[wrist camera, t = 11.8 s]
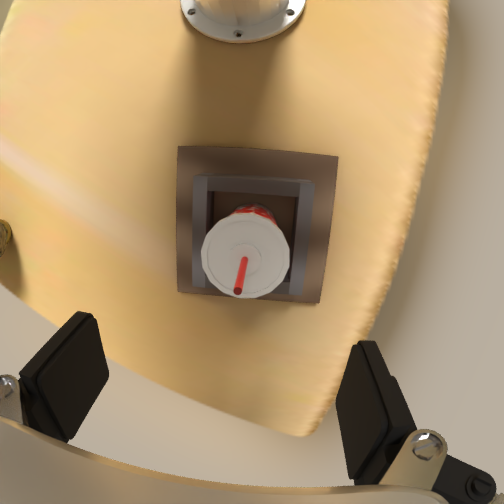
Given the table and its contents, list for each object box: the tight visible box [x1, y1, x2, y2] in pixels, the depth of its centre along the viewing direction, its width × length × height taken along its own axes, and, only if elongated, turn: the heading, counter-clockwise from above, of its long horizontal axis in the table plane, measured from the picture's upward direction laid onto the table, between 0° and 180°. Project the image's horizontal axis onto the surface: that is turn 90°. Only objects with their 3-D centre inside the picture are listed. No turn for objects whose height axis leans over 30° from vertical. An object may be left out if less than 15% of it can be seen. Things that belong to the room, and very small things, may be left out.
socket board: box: [176, 146, 338, 303], centre depth 29 cm, size 15×15×4 cm
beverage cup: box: [201, 203, 289, 298], centre depth 23 cm, size 6×6×14 cm
